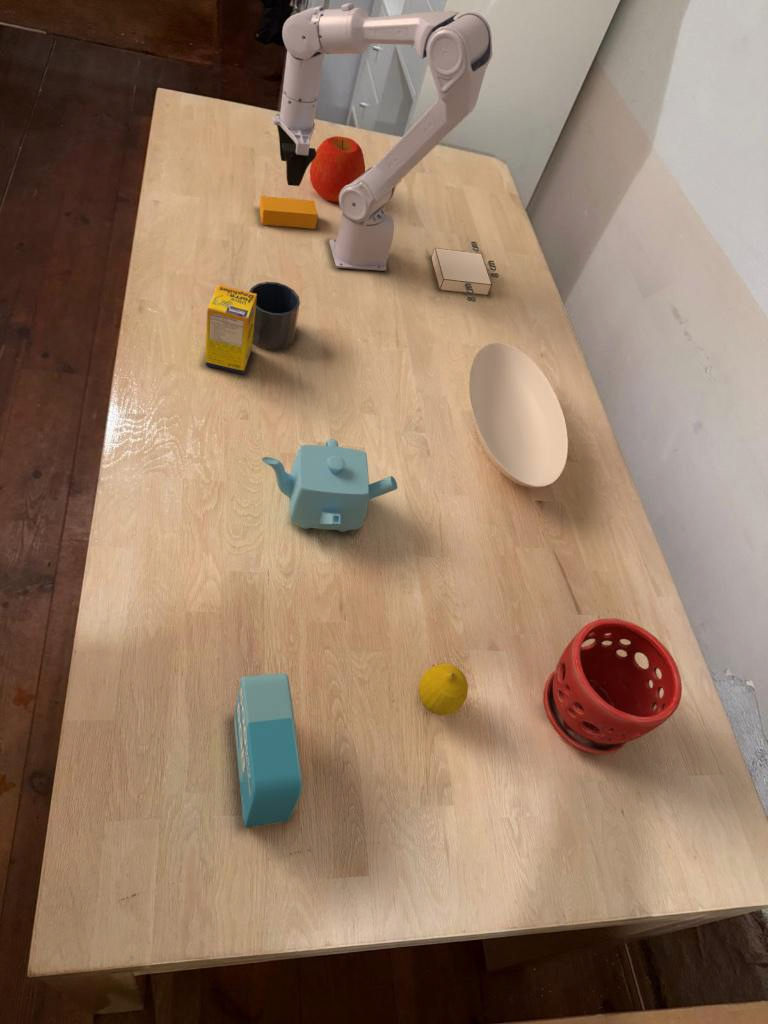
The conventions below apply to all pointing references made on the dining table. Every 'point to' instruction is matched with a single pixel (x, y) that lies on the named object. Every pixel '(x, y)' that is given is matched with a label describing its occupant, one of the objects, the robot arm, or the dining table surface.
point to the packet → (288, 212)
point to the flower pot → (610, 687)
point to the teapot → (329, 486)
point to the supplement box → (230, 328)
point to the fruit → (443, 689)
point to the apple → (336, 166)
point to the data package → (267, 750)
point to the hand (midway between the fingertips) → (290, 172)
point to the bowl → (517, 416)
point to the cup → (274, 315)
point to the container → (462, 271)
